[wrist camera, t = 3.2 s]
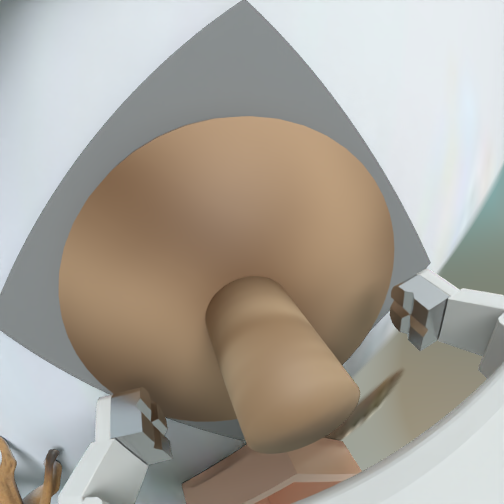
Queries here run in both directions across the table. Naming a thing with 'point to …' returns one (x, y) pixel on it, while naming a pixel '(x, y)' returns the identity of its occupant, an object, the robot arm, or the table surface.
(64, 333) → the mat
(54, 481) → the lion figurine
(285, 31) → the table surface
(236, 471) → the open box
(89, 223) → the lid
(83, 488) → the robot arm
